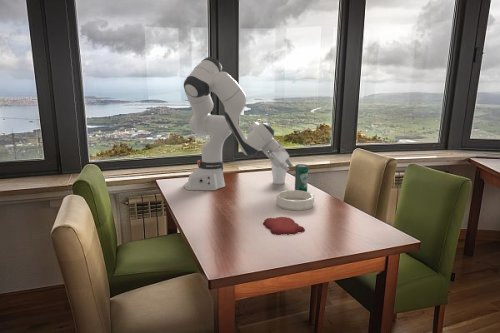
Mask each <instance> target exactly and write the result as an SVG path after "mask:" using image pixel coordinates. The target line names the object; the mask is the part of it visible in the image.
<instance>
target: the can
mask: <svg viewBox="0 0 500 333" xmlns="http://www.w3.org/2000/svg"><path fill="white" fill-rule="evenodd" d="M308 176H309V165H308V164H304V163H299V164H295V174H294V190H300V191H306V192H308V182H309V179H308V178H309V177H308Z"/></svg>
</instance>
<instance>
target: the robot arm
mask: <svg viewBox="0 0 500 333" xmlns="http://www.w3.org/2000/svg"><path fill="white" fill-rule="evenodd" d="M222 70H223V67H222V64H221V63H220V61H219V59H217V58H215V57H213V56H207V57H205V58H203V59H202V60H201V61H200V62H199V63H198V64H197V65H196V66H195V67H194V68H193V70H191V72H190V73H189V75H188V76H187V77H186V78H185V79H184V81H183V90H184V93H185V97H186V98H187V100H188V103H189V104H190V107H191V109H192V113H193V115H192V116H191V118H190V119H189V122H188V126H189V130H190V131H191V132H192V133H194V134H196V135H200V136H201V135H202V136H209V140H208V141H207V142H206V143H204V144H202V147H201V160H200V159H199V160H197V161H196V163H197V165H198V166H197V168H196V169H195V170H194V171H192V172H190V174H189V176H188V179H187V181H186V182H185V183H184V185H183V187H184V188H185V189H186V190H188V191H216V190H218V189H222V188H224V187H225V186H226V183H225V182H226V181H225V179H224V171H223V170H224V161H223V147H224V144H225V141H226V139H228V137H229V136H230V135H232V134H233V137H234V138H235V139H236V142H237V144H238V146H239V148H240V151H241V152H242V153H243V154H244V155H245V156H246V157H255V156H256V155H257V154H258V153H259V152H260V151H261V152H262V153H264V155H265V156H266V157H268V159H269V161H270V163H271V162H272V163H273V164H274V165H275V166H276V167H277V168H278V167H279V166H280V167H281V168H282V169H284V170H285V171H286V173H287V172H288V171H290V169H291V168H292V167H293V166H294V165H293V163H292V162H291V160H290V159H289V158H290V155H289V153H288V151H287V150H286V149H285V147H283V146H282V143H281V142H280V141H277V140H276V139H275V138H274V137H275V130H274V129H273V128H272V127H271V126H270V125H269V123H266V122H260V123H259V122H257V121H253V122H252V123H251V124H250V125H249V126H248V127H247V128H246V133H247V135H246V136H245V134H244V133H243V131H242V129H241V127H240V125H239V119H240V116H241V114H242V112H243V111H244V109H245V106H246V103H247V95H246V93H245V92H244V90H243V88H242V87H241V86H240V84H239V83H238V82H237V81H236V80H235V79H234V78H233V77H232V75H230V74H229V73H228V72H226V71H222ZM210 92H212V93H214V94H215V95H216V96H217V98H218V99H219V100H220V101H221V103H222V104H223V107H224V112H223V115H217V114H211V112H212V111H213V109H214V105H215V104H214V102H213V99H212V96H211V94H210ZM284 162H286V163H287V164H288V165H287V167H286V166H285V164H284ZM185 189H184V190H185Z"/></svg>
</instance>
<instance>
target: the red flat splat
mask: <svg viewBox="0 0 500 333" xmlns="http://www.w3.org/2000/svg"><path fill="white" fill-rule="evenodd" d="M262 225H263V226H264V227H265V228H266V229H267V230H270V233H271V234H272V235H275V234H276V235H275V236H280V235H281V234H282V235H284V234H287V235H286V236H290V235H289V234H293V235H296V234H298V232H301V233H304V232H305V227H303V226H301V225H299V224H298V223H297V222H295V220H294V219H293V218H290V217H287V216H279V217H278V216H277V217H267V218H265V219H264V220H263V222H262Z"/></svg>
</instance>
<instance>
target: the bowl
mask: <svg viewBox="0 0 500 333" xmlns="http://www.w3.org/2000/svg"><path fill="white" fill-rule="evenodd" d="M275 201H276V204H277V205H276V206H278V207H279V208H281V209H283V210H287V211H295V212H297V211H307V210H310V209H312V208H313V207H314V203H315V195H314V194H313V193H312V192H308V191H307V192H306V191H300V190H295V189H289V190H282V191H279V192H278V193H276V200H275Z"/></svg>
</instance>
